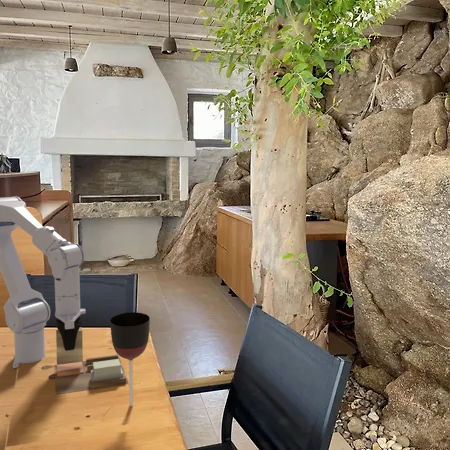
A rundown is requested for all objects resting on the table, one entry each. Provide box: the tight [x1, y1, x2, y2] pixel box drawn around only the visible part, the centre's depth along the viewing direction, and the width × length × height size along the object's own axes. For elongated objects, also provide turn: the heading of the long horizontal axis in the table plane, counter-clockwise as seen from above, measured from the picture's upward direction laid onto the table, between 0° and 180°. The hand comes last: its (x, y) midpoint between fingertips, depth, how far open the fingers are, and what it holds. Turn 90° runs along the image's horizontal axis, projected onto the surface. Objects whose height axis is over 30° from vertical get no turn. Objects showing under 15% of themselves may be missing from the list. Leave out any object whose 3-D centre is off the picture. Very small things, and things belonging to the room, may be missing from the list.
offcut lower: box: [91, 368, 123, 382], centre depth 107 cm, size 4×7×2 cm, turn 111°
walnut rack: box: [54, 354, 129, 396], centre depth 110 cm, size 16×16×2 cm
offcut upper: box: [93, 359, 121, 377], centre depth 107 cm, size 4×6×2 cm, turn 111°
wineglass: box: [109, 311, 151, 407], centre depth 95 cm, size 8×9×20 cm
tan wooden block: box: [55, 326, 84, 365], centre depth 111 cm, size 2×6×8 cm, turn 111°
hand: (69, 347), depth 111 cm, fingers closed on tan wooden block, 2 cm apart
